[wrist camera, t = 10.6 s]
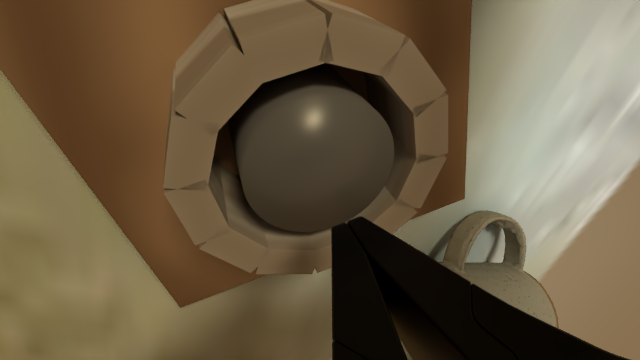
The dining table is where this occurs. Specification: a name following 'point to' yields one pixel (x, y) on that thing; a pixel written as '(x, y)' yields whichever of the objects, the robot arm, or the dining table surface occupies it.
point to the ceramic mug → (499, 267)
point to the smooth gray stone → (310, 150)
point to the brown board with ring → (222, 102)
